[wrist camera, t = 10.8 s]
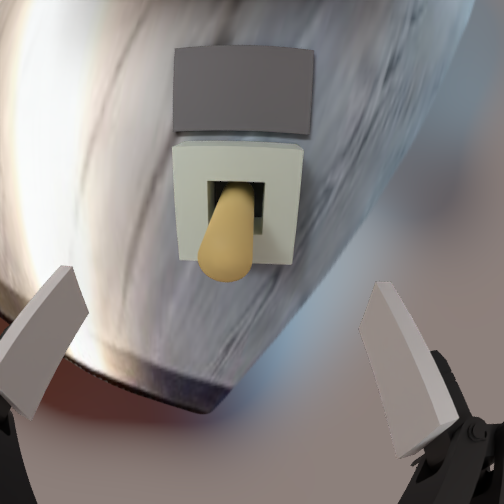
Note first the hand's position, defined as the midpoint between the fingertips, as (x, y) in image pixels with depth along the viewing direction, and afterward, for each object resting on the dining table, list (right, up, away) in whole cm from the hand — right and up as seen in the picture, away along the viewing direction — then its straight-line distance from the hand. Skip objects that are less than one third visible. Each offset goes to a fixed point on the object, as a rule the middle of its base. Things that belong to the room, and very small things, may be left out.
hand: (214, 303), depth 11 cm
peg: (0, +7, +15) cm, 16 cm away
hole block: (0, +7, +15) cm, 16 cm away
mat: (+1, +16, +10) cm, 19 cm away
